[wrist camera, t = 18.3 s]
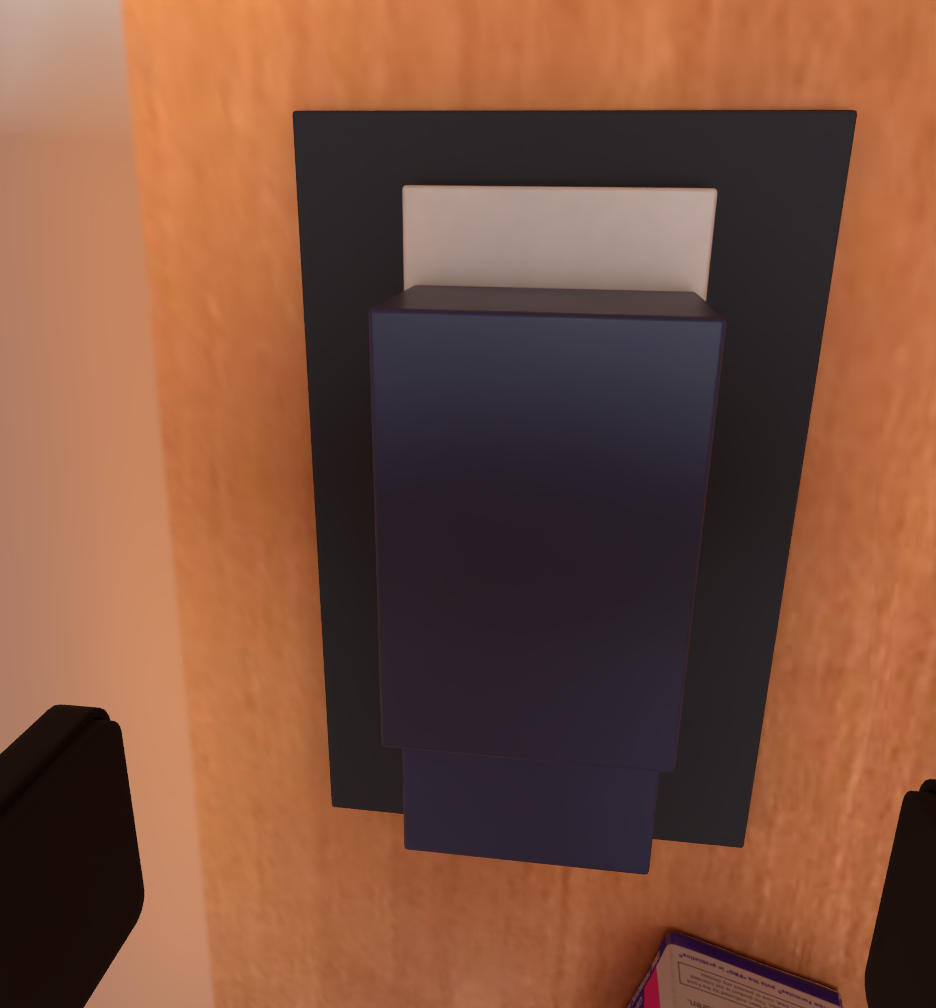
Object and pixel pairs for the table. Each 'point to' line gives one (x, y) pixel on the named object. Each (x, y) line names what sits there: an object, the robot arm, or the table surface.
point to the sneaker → (541, 511)
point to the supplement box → (722, 981)
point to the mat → (740, 406)
